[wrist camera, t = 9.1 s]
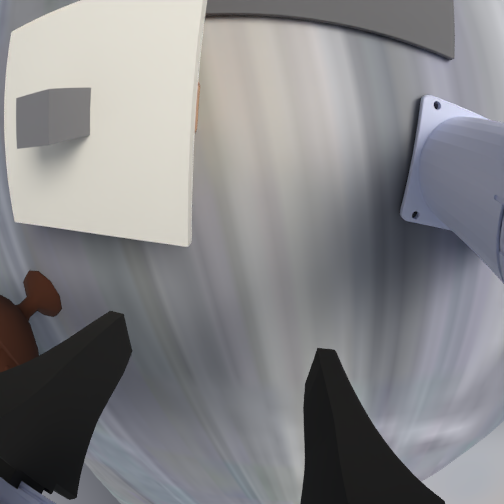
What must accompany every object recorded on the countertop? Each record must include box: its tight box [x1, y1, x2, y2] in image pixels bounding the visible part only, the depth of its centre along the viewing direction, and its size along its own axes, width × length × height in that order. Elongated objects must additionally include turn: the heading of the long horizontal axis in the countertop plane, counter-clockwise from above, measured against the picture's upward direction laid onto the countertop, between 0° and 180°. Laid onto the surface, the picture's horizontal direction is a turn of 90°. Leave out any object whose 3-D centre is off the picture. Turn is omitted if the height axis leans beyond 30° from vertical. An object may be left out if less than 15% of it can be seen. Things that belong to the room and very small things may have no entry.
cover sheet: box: [4, 0, 207, 247], centre depth 10 cm, size 13×13×4 cm
